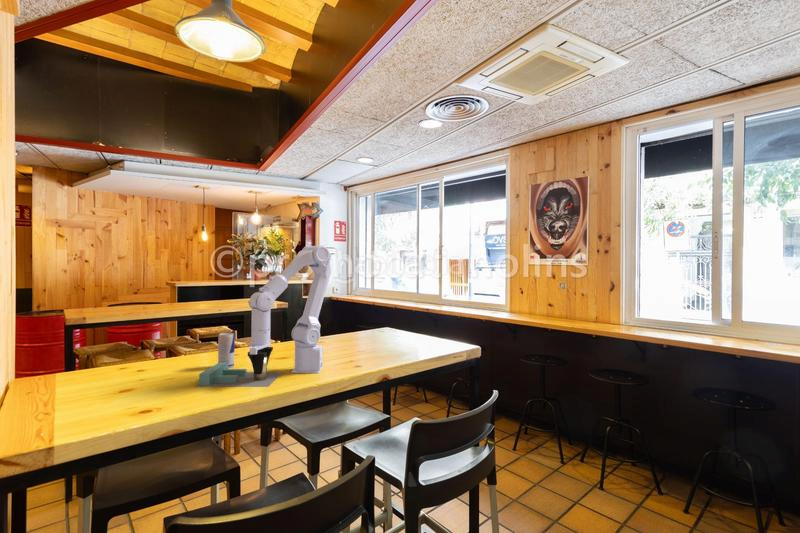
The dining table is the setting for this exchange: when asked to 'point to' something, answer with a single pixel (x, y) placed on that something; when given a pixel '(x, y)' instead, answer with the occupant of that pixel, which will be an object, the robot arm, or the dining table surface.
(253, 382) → the mat
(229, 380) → the socket dock
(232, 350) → the energy drink
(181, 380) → the dining table surface
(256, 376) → the brass tube
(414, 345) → the dining table surface
